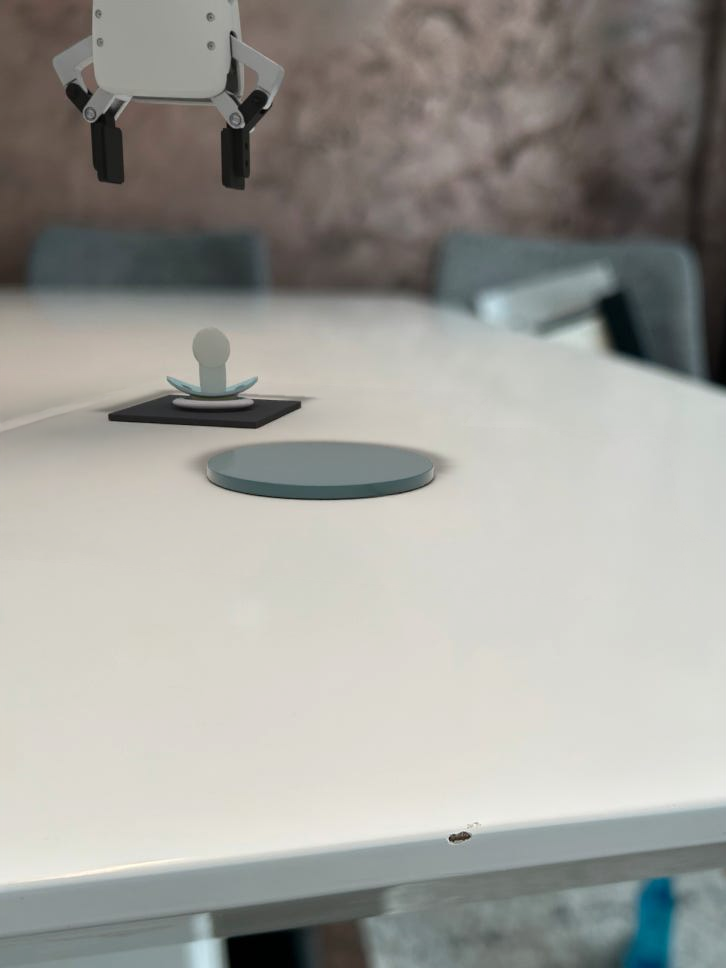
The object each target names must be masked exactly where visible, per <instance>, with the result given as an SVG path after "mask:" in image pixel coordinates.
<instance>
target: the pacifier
mask: <svg viewBox="0 0 726 968" xmlns="http://www.w3.org/2000/svg"><path fill="white" fill-rule="evenodd" d="M191 345H192V346H191V349H192V353H193V356H194V359H195V360H196V361H197V363H198V375H199V386H198V385H194V384H192V383H189V382H186V381H183V380H181V379H177V378H176V377H175V378H174V377H172V376H170V375H169V376H168V375H167V376H166V381H167V382H168V383H169V384H170V385H171V386H172V387H174V388H175V389H176V390H178V391H180V392H182V393H184V394H185V395H188V397H181V398H177V399H175V400H173V404H174V405H176V406H180V407H185V408H195V409H232V408H242V407H247V406H250V405H252V404H253V403H254V401H253V400H251V399H252V398H249V397H245V396H238V395H239V394H242V393H243V392H246V391H247V390H249V389H251V387H253V386H255V385H256V383H257V382H258V381H259V376H258V375H257V376H253V377H250V378H248V379H246V380H243V381H241V382H238V383H236V384H233V385H230V386H227V367H226V363H227V361H228V360H229V357H230V355H231V344H230V340H229V339H228V337H227V335H226V333H224V332H223V331H222V330H221V329H219V328H217V327H211V326H208V327H204V328H202V329H200V330H199V331H198V332H197V333H196V334H195V336H194V337H193V340H192V344H191Z"/></svg>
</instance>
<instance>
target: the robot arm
mask: <svg viewBox="0 0 726 968" xmlns="http://www.w3.org/2000/svg"><path fill="white" fill-rule="evenodd" d="M91 17H92V19H91V20H92V21H91V22H92V24H91V27H92V28H91V33H92V34H90V35H88V36H86V37H85V38H83V39H81V40H80V41H78V42H77V43H75V44H72V45H71V46H70V47H68V48H66V49H65V50H63V51H62V52H59V53H58V54H57V55H55V56H54V57H53V58H52V63H51V64H52V67H53V69H54V71H55V72H56V75H57V77H58V79H59V81H60V83H61V85H62V86H63V88H64V90H65V95H66V97H67V98H68V100H69V101H70V102H71V103H72V104H73V105H74V106H75V107H76V109H77V110H78V111H79V112H80V113H81V114H82V117H83V119H84V120H85V122H87V123H90V140H91V158H92V165H93V168H94V170H95V171H96V172H97V173H96V174H97V179H98V182H100V183H106V184H111V185H122V184H123V183H125V164H124V163H125V162H124V143H123V141H124V140H123V131H122V129H121V128H120V127H117V126H116V121H117V119H118V118H119V117H120V116H121V114H122V113H123V112H124V110H125V108H126V107H127V105H128V104H129V102H130V101H132V102H136V103H142V104H157V105H158V104H159V105H182V106H183V105H185V106H207V107H208V106H210V107H211V106H215V107H216V109H217V111H218V112H219V113H220V115H221V116H222V117H223V119H224V120H225V122H226V123H225V124H226V125H225V126H226V127H222V130H220V159H221V160H220V162H221V163H220V164H221V185H222V186H224V188H225V189H231V190H235V191H245V188H246V179H249V178H250V175H251V141H250V140H251V139H250V136H251V135H250V134H251V133H253V132H254V131H255V130H256V126H257V124H258V123H259V122H260V121H261V120H262V118H264V116H265V115H267V113H268V112H269V111H270V110H271V108H272V107H273V102H274V100H275V97H276V96H277V94H278V91H279V89H280V87H281V86H282V83H283V81H284V78H285V76H286V72H285V69H284V67H283V66H281V65H280V64H278V63H277V62H275V61H273V60H272V59H270V58H269V57H267V56H265V55H264V54H262V53H260V52H259V51H258V50H255V48H252V47H251V46H249V45H247V43H244V41H243V38H242V37H243V36H242V28H241V18H240V17H241V16H240V9H239V1H238V0H92V16H91ZM92 64H93V72H94V78H95V82H96V85H97V86H98V87H97V88H96V90H95V91H94V93H93V92H92V91H91V90H90V89H89V88H88V87H87V86H86V84H85V82H84V81H85V80H84V78H83V76H82V71H83V70H84V68H86V67H88V66H89V65H92ZM245 66H246V67H247V68H249V69H251V70H252V71H253V72H255V73H256V75H257V82H256V86H255V87H254V90H252V92H251V93H250V94H248V96H247V97H246V98H245V99H244V101H243V102H242V101H241V100H242V98H243V96H244V91H245Z"/></svg>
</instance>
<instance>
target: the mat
mask: <svg viewBox="0 0 726 968" xmlns="http://www.w3.org/2000/svg"><path fill="white" fill-rule="evenodd" d="M188 396H189V394H167V395H163V396H160V397H157V398H154V399H151V400H147V401H145V402H142V403H141V402H140V403H138V404H135V405H132V406H129V407H126V408H122V409H119V410H116V411H113V412H109V413H108V414H107V419H108V421H117V422H136V423H156V424H170V425H171V424H173V425H190V426H208V427H210V426H212V427H227V428H243V429H244V428H245V429H257V428H259V427H261V426H264V425H266V424H268V423H270V422H272V421H274V420H277V419H279V418H280V417H283V416H285V415H287V414H290V413H291V412H294V411H296V410H298V409H299V408H301V407H302V401H301V400H286V399H267V398H266V399H265V398H250V399H251V400H253V401H254V403H253V404H252V405H250V406H247V407H242V408H232V409H195V408H185V407H180V406H176V405H174V404H173V400H175V399H177V398H181V397H188Z"/></svg>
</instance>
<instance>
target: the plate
mask: <svg viewBox="0 0 726 968" xmlns="http://www.w3.org/2000/svg"><path fill="white" fill-rule="evenodd" d="M434 470H435V465H434V462H433V461H432V460H431V458H429V457H427V456H425V455H422V454H420V453H417V452H414V451H410V450H406V449H401V448H396V447H390V446H383V445H375V444H365V443H352V442H351V443H350V442H327V441H325V442H324V441H321V442H319V441H318V442H314V441H312V442H310V441H309V442H308V441H307V442H285V443H272V444H261V445H254V446H246V447H241V448H235V449H231V450H227V451H224V452H221V453H218V454H216V455H214V456H212V457H210V458H209V459H208V461H207V462H206V476H207V478H208V480H209V481H210V482H211V483H213V484H215V485H217V486H218V487H221V488H224V489H227V490H231V491H234V492H239V493H244V494H248V495H249V494H250V495H255V496H263V497H272V498H286V499H300V500H301V499H304V500H339V499H341V500H343V499H360V498H369V497H370V498H371V497H380V496H388V495H394V494H400V493H404V492H409V491H412V490H416V489H418V488H422V487H424V486H427V485H428V484H429V483H430V482H432V480H433V479H434V472H435V471H434Z"/></svg>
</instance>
